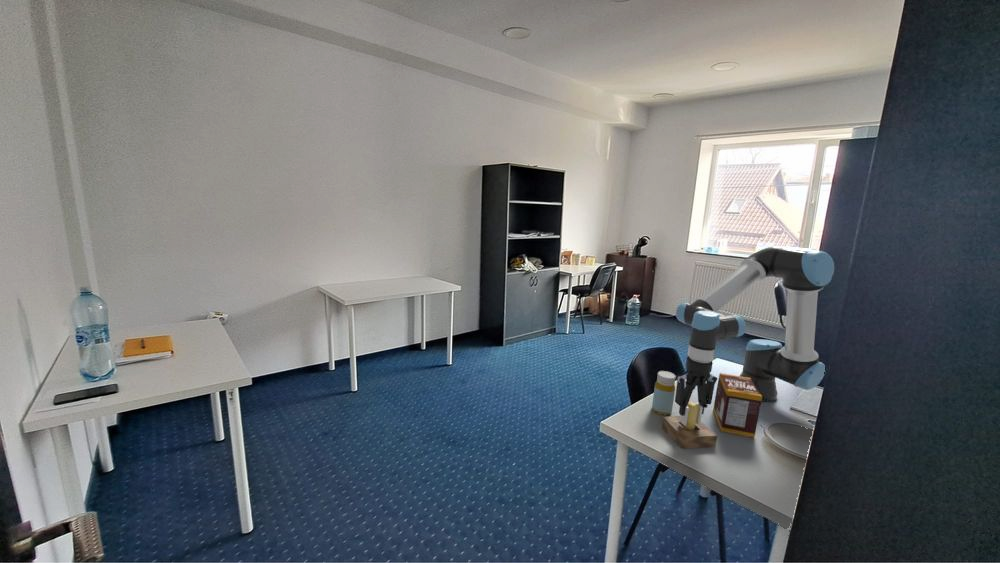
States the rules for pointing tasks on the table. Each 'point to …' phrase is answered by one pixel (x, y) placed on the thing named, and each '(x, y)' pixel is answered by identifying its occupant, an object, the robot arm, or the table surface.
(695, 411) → the peg
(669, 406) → the bottle
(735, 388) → the supplement box
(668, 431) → the socket block
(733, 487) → the table surface
